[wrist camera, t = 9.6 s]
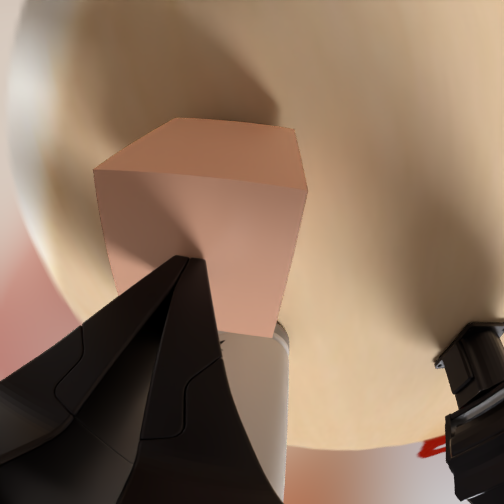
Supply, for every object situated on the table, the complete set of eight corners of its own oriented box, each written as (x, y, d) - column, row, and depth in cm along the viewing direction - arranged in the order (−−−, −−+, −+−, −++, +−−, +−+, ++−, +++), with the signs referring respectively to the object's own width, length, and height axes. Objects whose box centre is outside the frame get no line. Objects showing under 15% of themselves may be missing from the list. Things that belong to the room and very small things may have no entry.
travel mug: (197, 309, 20) (130, 592, 4) (291, 312, 19) (273, 619, 3) (210, 357, 24) (168, 577, 8) (287, 361, 23) (271, 592, 7)
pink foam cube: (294, 129, 11) (307, 190, 6) (276, 230, 15) (272, 337, 9) (175, 117, 11) (93, 169, 6) (176, 217, 15) (123, 312, 9)
